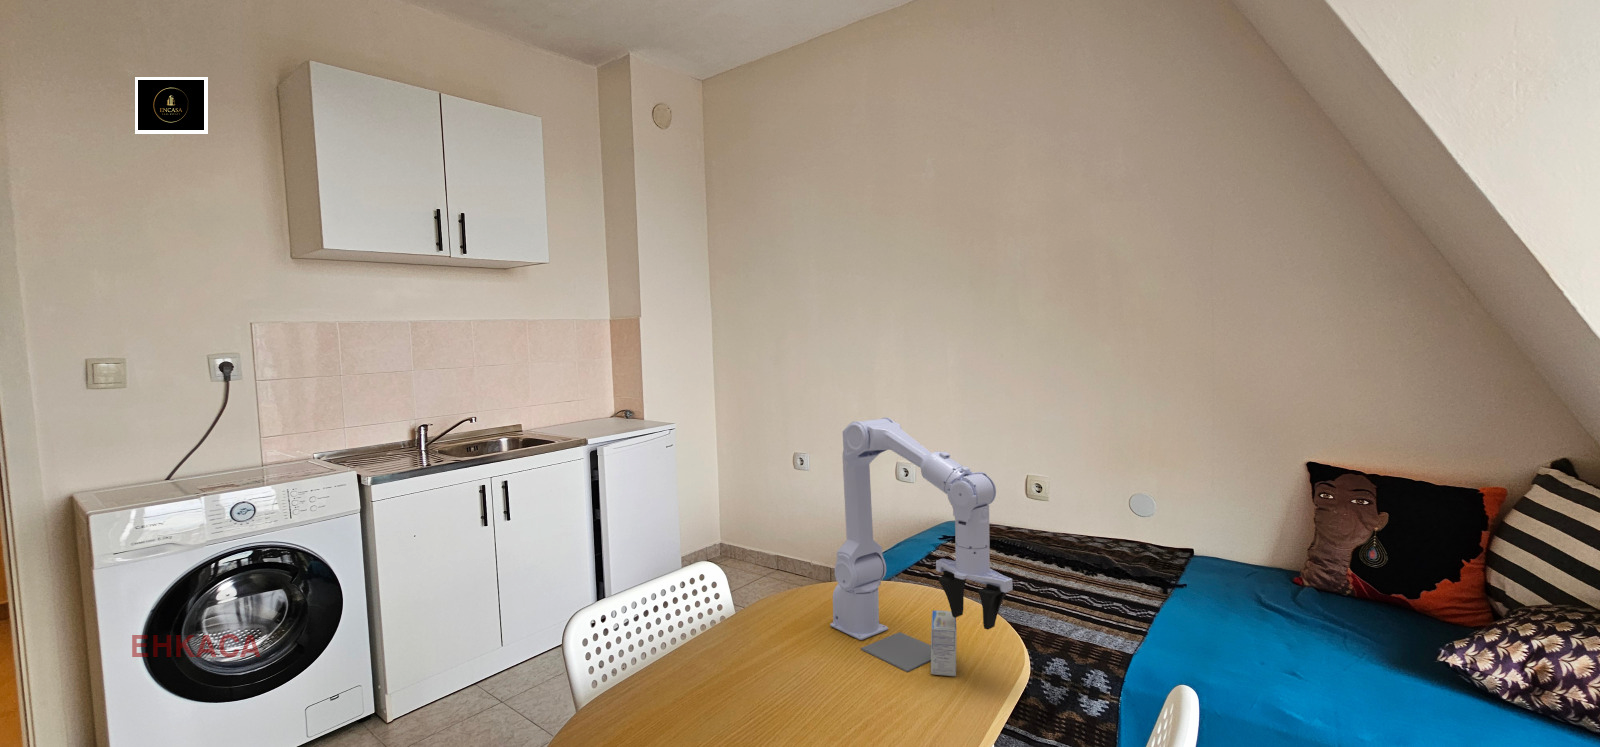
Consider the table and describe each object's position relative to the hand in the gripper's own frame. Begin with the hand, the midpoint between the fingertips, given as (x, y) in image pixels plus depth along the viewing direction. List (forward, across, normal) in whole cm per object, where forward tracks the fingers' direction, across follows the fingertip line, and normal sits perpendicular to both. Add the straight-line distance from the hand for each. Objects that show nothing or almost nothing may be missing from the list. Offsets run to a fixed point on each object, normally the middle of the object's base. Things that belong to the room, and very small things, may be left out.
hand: (973, 621), depth 117 cm
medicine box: (+10, -7, 0) cm, 12 cm away
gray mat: (+10, -16, -1) cm, 19 cm away
